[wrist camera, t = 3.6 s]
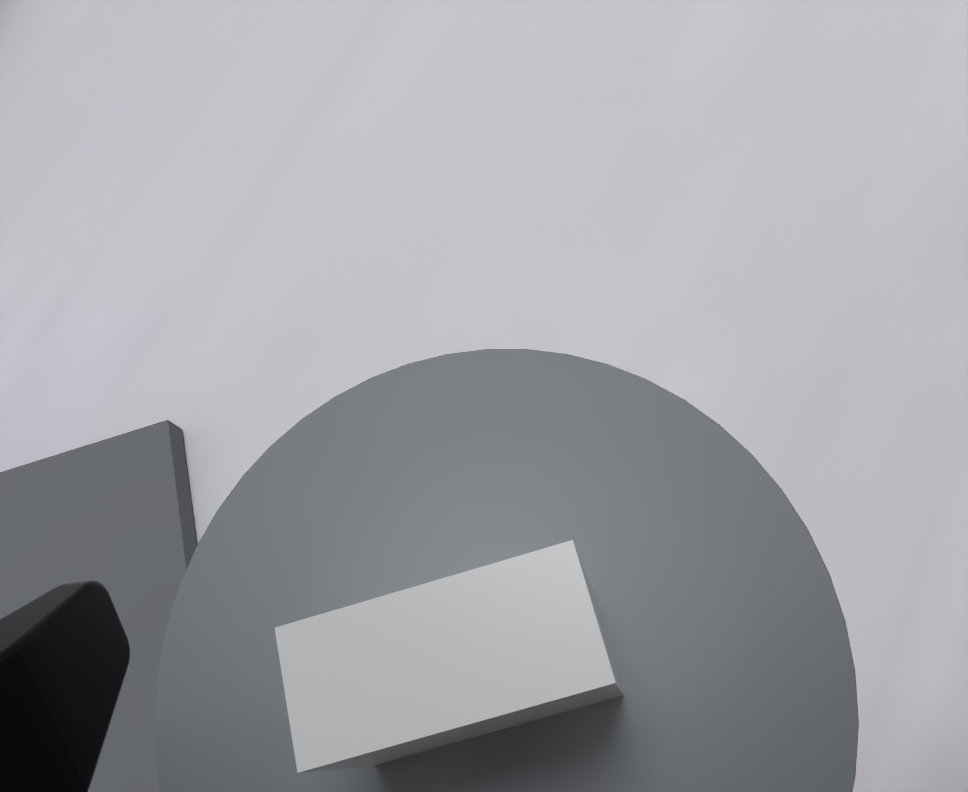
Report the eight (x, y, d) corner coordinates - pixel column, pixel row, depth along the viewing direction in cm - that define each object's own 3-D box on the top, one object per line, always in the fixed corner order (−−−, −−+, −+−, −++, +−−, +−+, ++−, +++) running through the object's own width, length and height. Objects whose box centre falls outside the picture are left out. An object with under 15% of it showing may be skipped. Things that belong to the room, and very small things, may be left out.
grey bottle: (480, 908, 15) (51, 1336, 4) (415, 610, 17) (5, 388, 6) (777, 829, 14) (1120, 1074, 4) (675, 534, 16) (718, 158, 6)
